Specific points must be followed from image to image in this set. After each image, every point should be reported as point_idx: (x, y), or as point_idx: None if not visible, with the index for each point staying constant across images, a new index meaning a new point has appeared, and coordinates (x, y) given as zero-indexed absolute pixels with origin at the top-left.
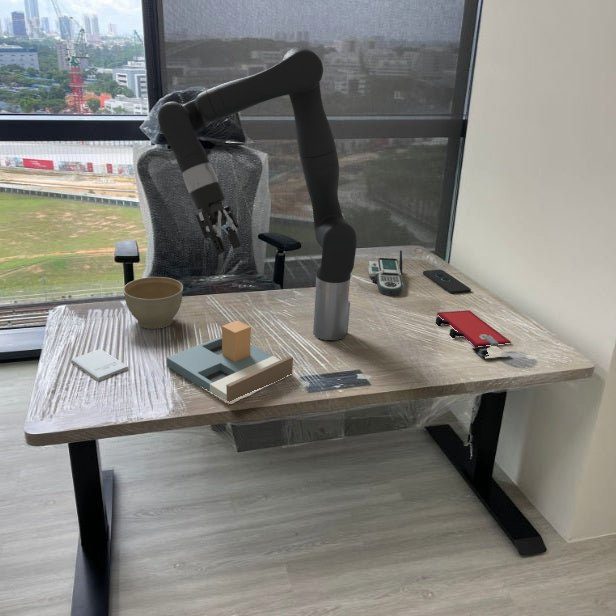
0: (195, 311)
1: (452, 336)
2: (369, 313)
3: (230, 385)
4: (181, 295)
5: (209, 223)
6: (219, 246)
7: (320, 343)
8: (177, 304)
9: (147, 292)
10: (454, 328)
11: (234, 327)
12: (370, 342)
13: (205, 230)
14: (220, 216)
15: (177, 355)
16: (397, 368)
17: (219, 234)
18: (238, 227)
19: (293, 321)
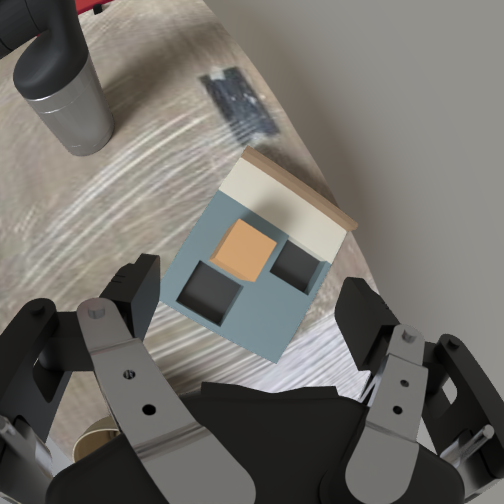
0: (69, 389)
1: (101, 9)
2: (22, 100)
3: (355, 223)
4: (109, 423)
5: (488, 385)
6: (384, 305)
7: (123, 136)
8: None
9: None
10: (77, 13)
11: (252, 252)
12: (112, 75)
13: (433, 406)
14: (382, 432)
15: (265, 351)
16: (185, 43)
17: (395, 332)
18: (46, 299)
19: (50, 201)
